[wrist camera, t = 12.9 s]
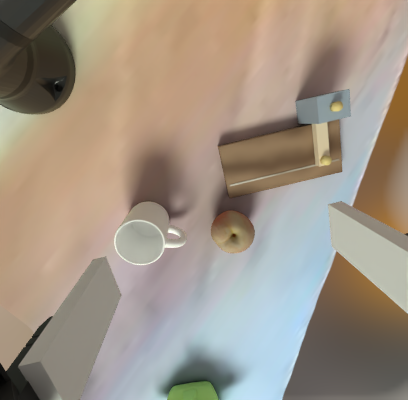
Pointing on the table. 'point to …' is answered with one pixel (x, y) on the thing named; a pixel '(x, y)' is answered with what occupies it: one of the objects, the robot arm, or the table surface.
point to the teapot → (193, 391)
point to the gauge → (323, 119)
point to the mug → (146, 234)
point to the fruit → (232, 231)
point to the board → (277, 159)
